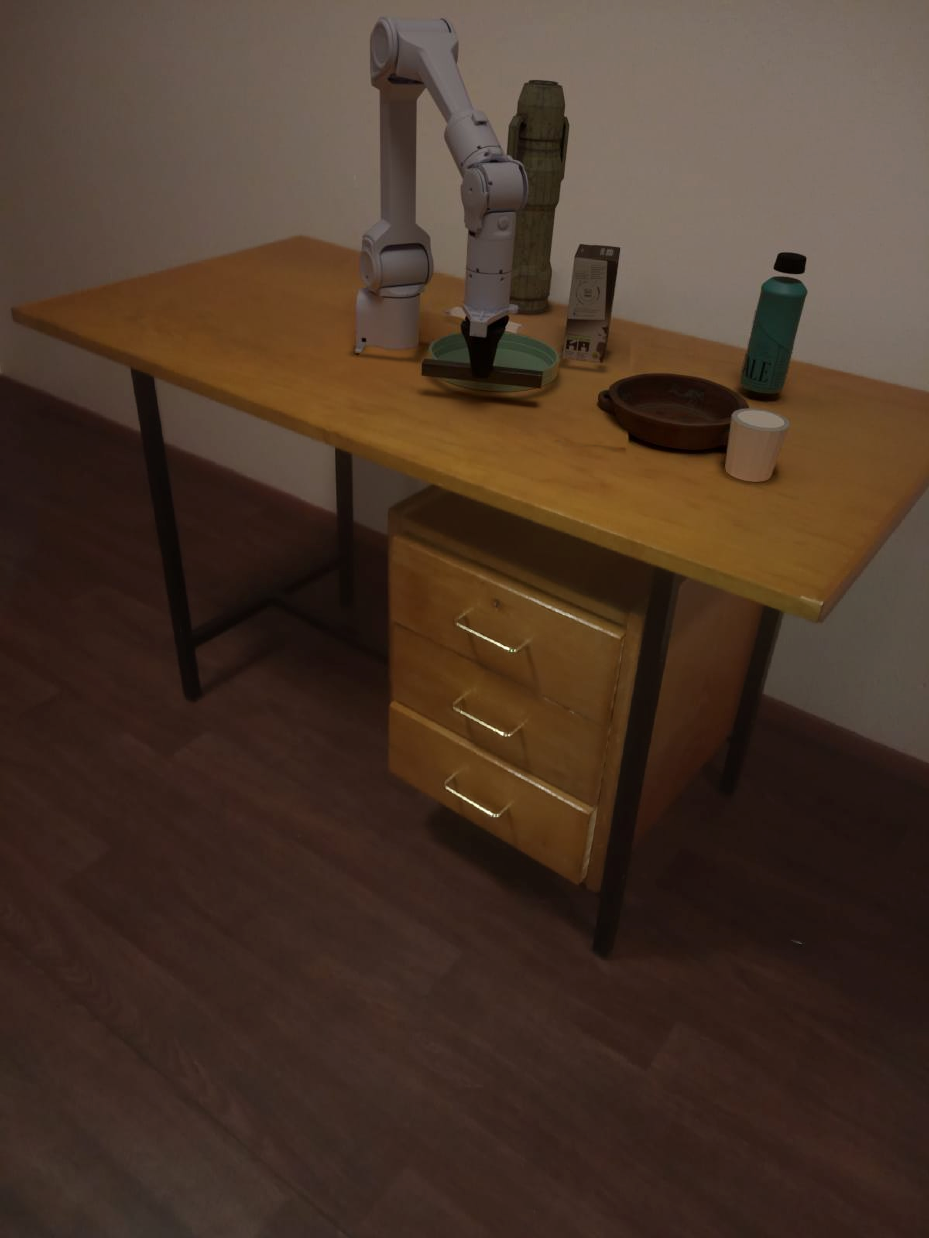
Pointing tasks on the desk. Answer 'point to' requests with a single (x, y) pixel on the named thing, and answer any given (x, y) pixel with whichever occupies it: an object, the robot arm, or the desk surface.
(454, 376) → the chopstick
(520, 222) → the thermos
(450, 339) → the green round tray
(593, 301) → the coffee box
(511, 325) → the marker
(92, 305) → the desk surface
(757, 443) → the white short cylinder
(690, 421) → the dish
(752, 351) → the beverage bottle
